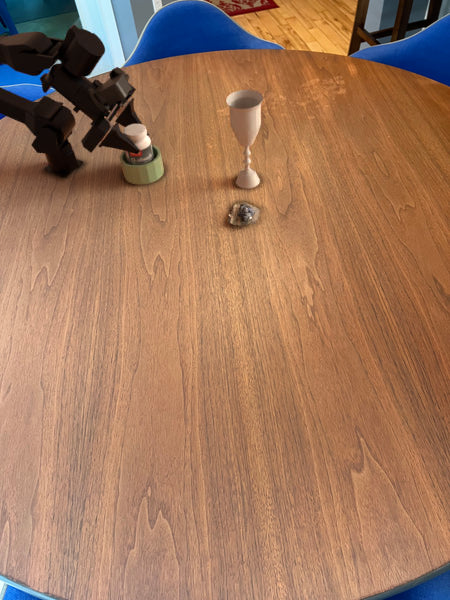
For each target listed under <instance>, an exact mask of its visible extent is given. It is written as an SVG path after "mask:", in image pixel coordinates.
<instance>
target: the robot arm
mask: <svg viewBox="0 0 450 600" xmlns="http://www.w3.org/2000/svg"><path fill="white" fill-rule="evenodd" d="M105 53H106V47H105V44H104V42H103V40H101V38H100V37H99V36H98V35H97V34H96V33H95V32H91V31H89V30H87V29H85V28H79V27H78V26H77V25H76V24H72V25H71V26H70V27H69V28H68V30H67V31H66V33H65V37H64V39H62V38H56V37H51V36H47V34H45V33H44V32H41V31H26V32H20V33H17V34H12V35H5V36H4V35H2V36H1V35H0V64H1V65H2V64H3V65H6V66H8V67H10V68H11V69H12V70H13V71H14V72H17V73H20V74H25V75H28V76H31V77H37V76H40V75H41V76H40V77H39V81H40V83H41V89H42V92H43V93H44V94H46V93H48V91H49V90H51V88H52V89H53V90H54V91H56V92H57V93H59V95H61V96H62V97H63V98H64V99H66V101H68V102H69V103H71V104H72V105H73V106H74V107H73V109H72V110H71V109H70V108H69V107H67V106H66V105H64V102H63V101H57V100H55V99H53V98H51V97H49V96H47V95H43V96H42V97H41V98H40V99H39V100H38V101H33V100H31V99H28V98H25V97H23V96H21V95H18V93H17V94H16V93H14V92H13V91H9V90H7V89H5V88H2V87H0V115H2V116H5V117H7V118H9V119H12V120H14V121H17V122H19V123H21V124H23V125H25V126H26V127H27V129H28V130H29V131H30V132H31V134H32V135H33V136H34V137H35V138H34V139H33V141H32V142H31V147H32V148H33V149H34V151H35V152H36V153H37V154H43V155H44V156H45V159H46V161H47V163H48V165H46V166H45V167H44V171H45V172H48V173H49V174H52V175H55V176H57V177H60V178H66V177H68V176H69V175H71V174H72V173H73V172H74V171H76V170H77V169H79V168H80V167H81V166H83V165H84V162H83V161H84V160H80V159H78V158H77V156H76V154H75V150H74V149H73V146H72V143H71V142H70V141H69V137H70V136H71V135H72V134H73V131H74V128H75V126H76V124H77V123H76V118H75V115H74V114H73V112H74V113H76V114H78V113H79V112H82V113H83V114H84V115H85V116H86V117H87V118H89V119H90V120H91V123H90V126H91V127H90V128H89V129H88V131H87V132H86V134H85V135H84V136H83V138H82V139H81V145H82V147H83V149H85V150H86V151H87V152H89V153H90V154H92V153H93V151H94V150H96V148H97V147H98V148H102V147H105V148H110V149H116V150H119V151H122V152H123V151H127V152H131V153H134V154H138V153H139V152H140V149H139V148H138V147H137V146H136V145H135V144H134V143H133V142H132V141H131V140H130V139H129V138H127V137H126V136H125V135H124V132H122V131H121V128H120V126H122V127H123V128H125V127H127V126H128V125H131V124H142V125H144V124H143V122H142V121H141V119H140V117H139V116H138V115H137V112H136V111H135V105H134V101H135V98H134V97H132V96H133V95H134V93H135V92H136V90H137V89H136V88H135V87H134V86H133V85H132V84H131V83H129V80H130V75H129V74H128V73H126V72H125V71H124V70H123V69H121V67H119V66H116V67H114V68H113V69H111V71H110V72H109V78H108V79H107V80H106V81H105V82H101V81H100V80H99V79H94V80H93V81H91V80H90V79H89V78H88V77H89V76H91V74H92V73H93V71H94V69H96V66H97V65H98V63H99V62H100V61H101V59H102V58H103V56H104V54H105ZM58 61H59V63H57V62H58ZM45 70H49V71H48V72H47V73H46V72H44V71H45ZM43 72H44V73H43ZM42 73H43V74H42ZM131 97H132V98H131ZM130 98H131V99H130ZM114 117H116V119H115V120H114V122H115V124H113V123H112V121H113V119H114ZM147 136H148V137H150V134H149V132H148V131H147Z"/></svg>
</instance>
